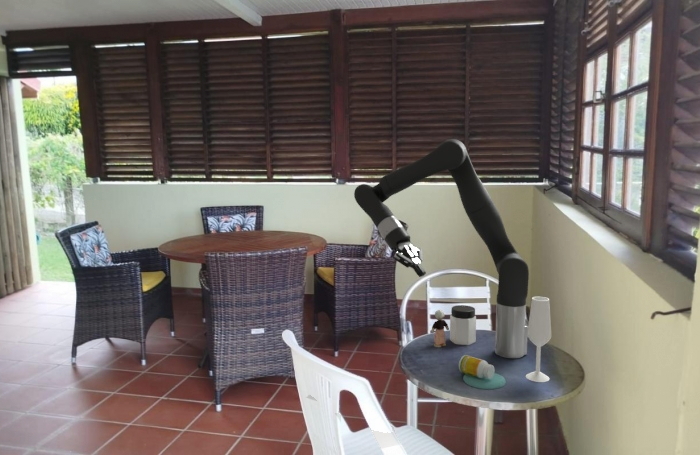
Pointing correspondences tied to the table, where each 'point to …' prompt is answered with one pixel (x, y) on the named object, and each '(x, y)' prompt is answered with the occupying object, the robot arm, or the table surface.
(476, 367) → the supplement bottle
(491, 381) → the mat
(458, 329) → the jar
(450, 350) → the table surface
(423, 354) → the table surface
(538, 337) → the champagne flute
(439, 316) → the grandmother figurine
